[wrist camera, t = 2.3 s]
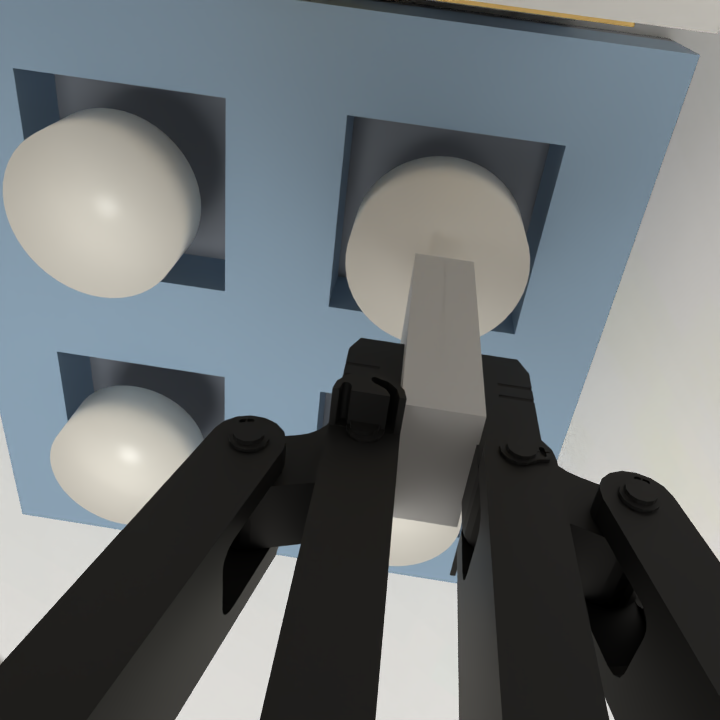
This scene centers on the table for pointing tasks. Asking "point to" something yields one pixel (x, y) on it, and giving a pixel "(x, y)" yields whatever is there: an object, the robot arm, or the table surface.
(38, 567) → the table surface
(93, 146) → the button
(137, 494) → the button
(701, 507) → the table surface
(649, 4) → the card
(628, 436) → the table surface
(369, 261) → the button
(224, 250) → the button board
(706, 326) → the table surface
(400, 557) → the button
